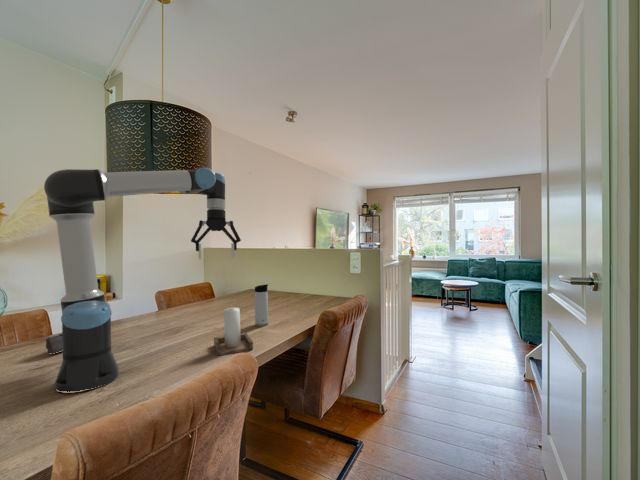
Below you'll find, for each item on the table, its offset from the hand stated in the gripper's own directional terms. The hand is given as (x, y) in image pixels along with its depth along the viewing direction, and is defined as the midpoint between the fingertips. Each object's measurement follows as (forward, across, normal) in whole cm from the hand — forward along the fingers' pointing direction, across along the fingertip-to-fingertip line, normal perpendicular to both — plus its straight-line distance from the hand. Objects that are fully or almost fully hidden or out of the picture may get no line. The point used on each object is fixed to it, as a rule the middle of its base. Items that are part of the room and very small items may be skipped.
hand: (216, 258), depth 129 cm
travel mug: (+34, -22, -11) cm, 42 cm away
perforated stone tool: (+35, +56, -13) cm, 67 cm away
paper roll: (+33, -4, +15) cm, 37 cm away
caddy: (+34, -4, +15) cm, 38 cm away
